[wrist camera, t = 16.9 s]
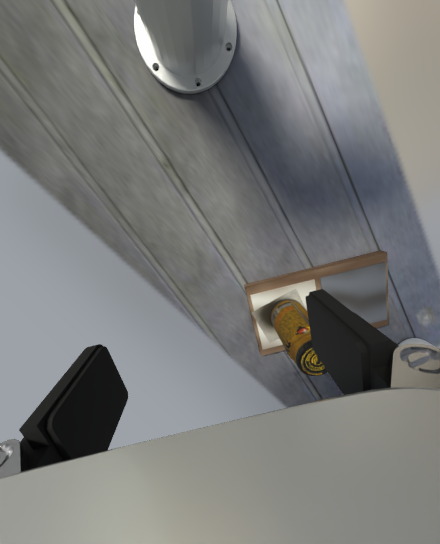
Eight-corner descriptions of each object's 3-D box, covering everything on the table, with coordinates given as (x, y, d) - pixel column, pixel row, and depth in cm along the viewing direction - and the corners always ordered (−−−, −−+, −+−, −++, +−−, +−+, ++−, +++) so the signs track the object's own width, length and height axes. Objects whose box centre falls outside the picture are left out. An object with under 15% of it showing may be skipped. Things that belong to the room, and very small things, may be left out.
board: (244, 284, 40) (245, 288, 38) (380, 250, 40) (388, 252, 38) (259, 350, 44) (261, 357, 43) (382, 320, 44) (389, 325, 42)
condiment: (312, 320, 41) (352, 367, 29) (269, 342, 42) (292, 396, 30) (295, 287, 39) (332, 324, 27) (250, 311, 40) (268, 356, 28)
